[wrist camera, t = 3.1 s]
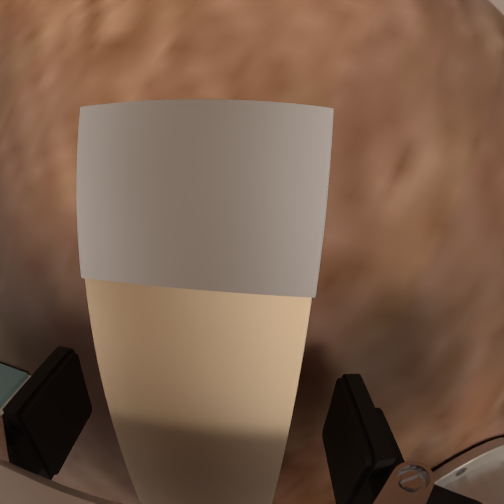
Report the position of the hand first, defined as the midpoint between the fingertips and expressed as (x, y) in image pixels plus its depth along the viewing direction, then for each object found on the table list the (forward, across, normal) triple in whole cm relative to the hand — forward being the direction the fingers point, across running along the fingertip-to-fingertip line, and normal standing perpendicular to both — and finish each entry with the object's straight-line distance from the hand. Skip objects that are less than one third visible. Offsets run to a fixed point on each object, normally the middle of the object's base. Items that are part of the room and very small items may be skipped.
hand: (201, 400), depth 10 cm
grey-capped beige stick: (+2, 0, 0) cm, 2 cm away
